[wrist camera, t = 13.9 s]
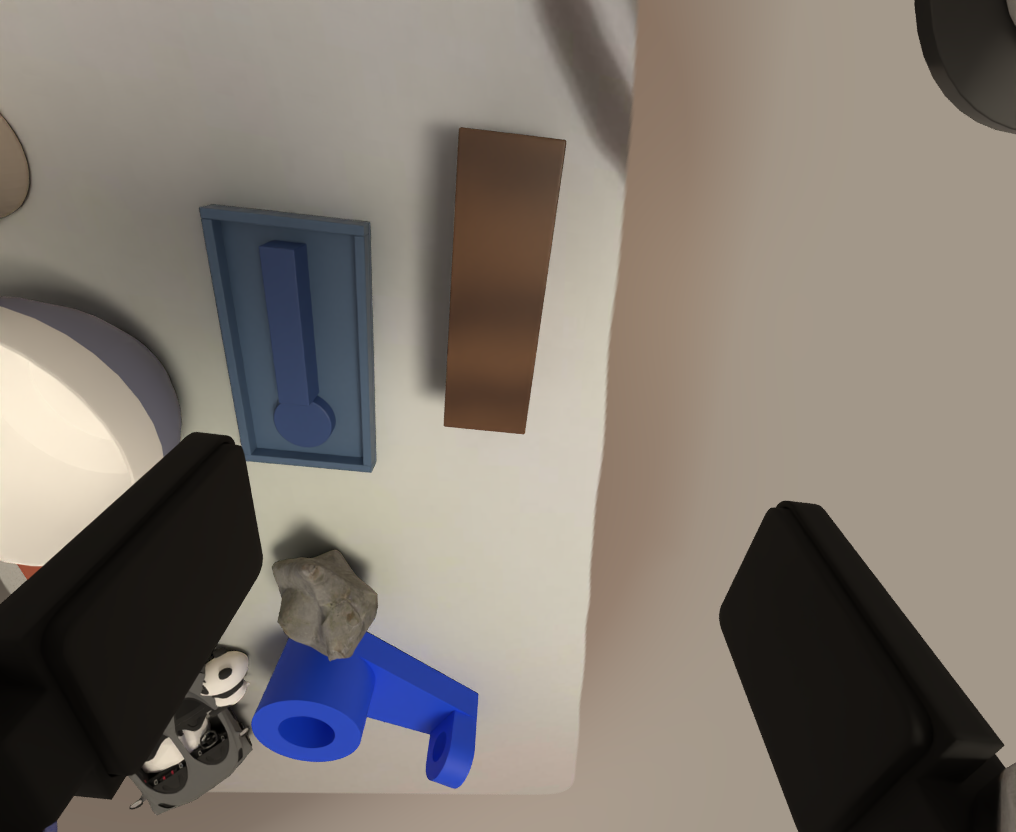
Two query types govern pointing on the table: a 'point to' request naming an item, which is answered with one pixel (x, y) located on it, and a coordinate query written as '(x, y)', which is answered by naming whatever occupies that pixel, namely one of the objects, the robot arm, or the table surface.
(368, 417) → the blue tray
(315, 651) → the bracket
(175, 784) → the toy car
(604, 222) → the table surface
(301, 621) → the fossil
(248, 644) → the table surface
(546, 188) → the brown slab
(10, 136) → the coffee cup
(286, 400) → the blue spoon
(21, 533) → the bowl
